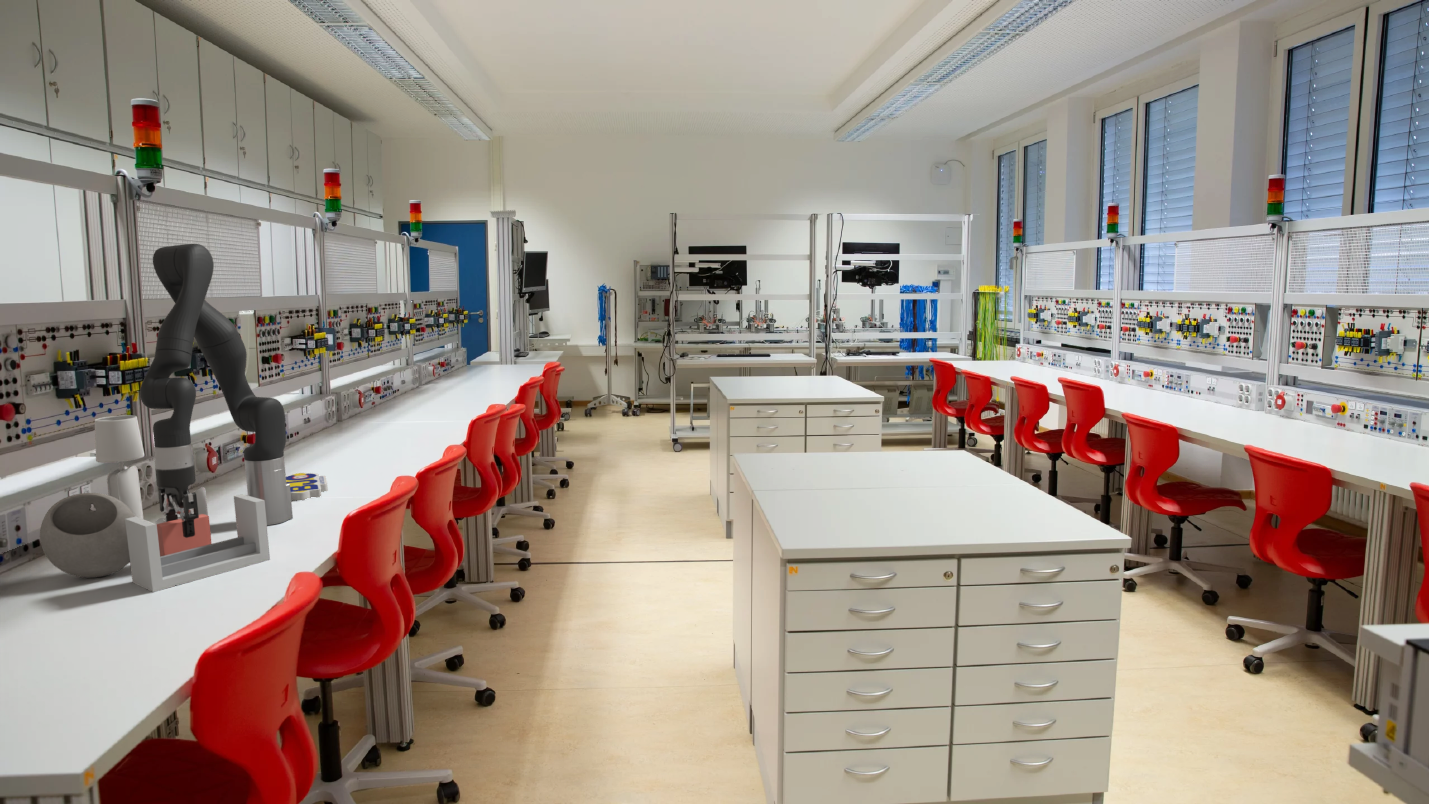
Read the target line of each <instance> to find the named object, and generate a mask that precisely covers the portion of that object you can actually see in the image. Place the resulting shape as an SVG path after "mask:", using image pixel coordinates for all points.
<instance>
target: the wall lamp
mask: <svg viewBox="0 0 1429 804" xmlns="http://www.w3.org/2000/svg"><path fill="white" fill-rule="evenodd" d="M138 421H139V420H138V417H137V415H133V414H132V415H131V414H130V415H127V414H126V415H114V416H113V415H112V416H103V417H99V418H95V419H94V440H95V441H94V442H95V443H94V444H95V461H96V463H101V464H105V463H106V464H111V463H112V464H113V463H117V465H118V468H117V469H114V470H112V471H111V472H109V473H108V474H107V477H106V486H107V495H109V496H112V497H114V498H116V499H118V500H120V501H122V502H123V503H124V504H125V505H127V506H128V507H129V508H130V509H131V511H132V512H133V513H134V515H135V516H136V517H138V518H141V519H144V512H143V502H142V495H141V486H140V478H139V477H140V476H139V471H138V470H139V469H138V467H137V466H136V465H132V466H130V467H128V466H126V465H125V462H129V461H134V460H135V461H136V460H139V459H142V458H144V457H145V451H144V446H143V442H142V440H143V439H142V436H141V431H140V426H139V422H138ZM194 492H195V493H196V496H197V505H198V513H199V515H200V514H204V515H207V516H209V510H208V503H207V492H206V488H205V487H204V486H201V487H199V488H198V489H196V490H193V491H192V492H191V493H194ZM193 512H194V509H193ZM178 519H181V517H180V516H178ZM164 522H166V516H165V517H160V518H157V519H156V520H155V522H154V523H155V524H160V523H164Z"/></svg>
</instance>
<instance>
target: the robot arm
mask: <svg viewBox="0 0 1429 804" xmlns="http://www.w3.org/2000/svg"><path fill="white" fill-rule="evenodd" d="M152 266H153V269H154V272H155V274H156V276H157V278H158V280H159V282H160V283H161V284H162V286H163V287H164V289H165V291H167V294H168V295H169V296H170V298H171V299H172V301H173V303H174V305H173V307H172V308H171V309H170V311H169V313H167V315H166V317H165V318H164V320H163V321H162V323H161V325H160V328H159V330H158V333H157V338H156V346H155V352H154V358H153V360H152V362H151V364H150V366H149V368H148V370H147V373H146V375H145V376H144V379H143V380H142V383H141V385H140V389H139V398H140V401H141V402H142V404H143V405H144V406H145V407H146V408H149V409H152V410H161V409H162V410H164V409H165V410H168V409H172V410H173V412H172V414H171V416H170V417H167V418H163V419H160V420H159V419H158V420H157V421H154V423H153V425H152V433H153V442H154V454H153V455H154V458H153V459H154V469H155V480H156V481H155V482H156V486H157V487H158V495H159V496H158V498H159V511H160V512H161V513H163V515H164V516H165V517H166V522H169V521H173V520H178V517H181V520H182V528H183V536H184V537H185V538H188V537H192V536H194V535H195V528H194V520H195V519H196V518H199V513H198V505H197V496H196V493H195V492H194V491H193V492H194V493H192V492H190V489H189V487H190V486H191V485H194V484H195V483H196V481H197V480H196V471H195V470H196V469H195V468H196V467H195V460H194V459H195V458H194V457H195V456H194V450H193V447H192V437H191V421H192V415H193V409H194V406H195V402H196V397H197V390H196V387H195V385H194V382H192V381H191V380H190V379H189V378H187V377H170V376H171V375H172V374H174V373H175V372H178V371H179V372H180V371H183V370H186V369H188V368H189V367H190V366H191V363H192V356H193V349H194V340H195V342H196V344H197V346H198V347H199V350H200V352H201V354H202V355H203V357H204V359H205V360H206V362H207V364H208V366H209V367H210V369H211V371H212V373H213V375H214V378H215V379H216V381H217V384H218V386H219V388H220V390H221V392H222V395H223V398H224V400H225V403H226V405H227V407H228V412H229V413H230V416H231V418H232V420H233V422H234V423H235V425H236V426H237V427H238V428H239V429H240V430H242V431H245V432H251V433H254V434H255V435H254V437H255V438H254V439H255V440H254V443H253V444H252V445H249V446H247V447H245V448H244V450H243V459H244V471H245V480H246V481H245V482H246V489H247V491H246V492H247V496H251V497H255V498H258V499H262V500H265V511H266V522H267V526H271V525H277V524H281V523H282V524H283V523H285V522H287V521H288V520H290V519H291V520H292V519H294V516H293V504H292V500H291V491H290V484H289V483H286V476H287V475H286V465H285V447H286V444H287V435H286V434H287V433H286V431H287V430H286V428H287V427H286V412H285V408H284V406H283V405H282V402H281V401H279V400H278V399H277V398H274V397H266V396H265V397H263V396H261V397H260V396H256V394H255V393H254V392H253V390H252V388H251V386H250V384H249V382H248V379H247V377H246V376H247V375H246V368H247V355H248V353H247V349H246V348H247V347H246V346H245V344H244V342H243V339H242V337H241V335H240V333H239V331H238V328H236V326H235V324H234V323H233V322H232V321H231V320H230V319H229V318H228V317H227V316H226V315H224V314H223V313H221V312H220V311H219V310H217V309H216V308H215V307H214V306H213V305H211V304H210V303H209V302H207V301H206V297H207V293H208V291H209V287H210V284H211V280H212V279H213V278H212V277H213V275H214V260H213V255H212V254H211V252H210V251H209V249H207V247H206V246H204V245H202V244H200V243H184V244H175V245H169V246H162V247H159V248H157V249H156V250H155V251H154V253H153V256H152ZM193 509H194V512H193ZM178 515H179V516H178Z"/></svg>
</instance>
